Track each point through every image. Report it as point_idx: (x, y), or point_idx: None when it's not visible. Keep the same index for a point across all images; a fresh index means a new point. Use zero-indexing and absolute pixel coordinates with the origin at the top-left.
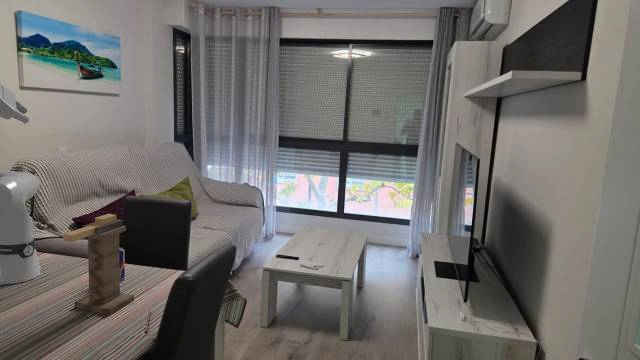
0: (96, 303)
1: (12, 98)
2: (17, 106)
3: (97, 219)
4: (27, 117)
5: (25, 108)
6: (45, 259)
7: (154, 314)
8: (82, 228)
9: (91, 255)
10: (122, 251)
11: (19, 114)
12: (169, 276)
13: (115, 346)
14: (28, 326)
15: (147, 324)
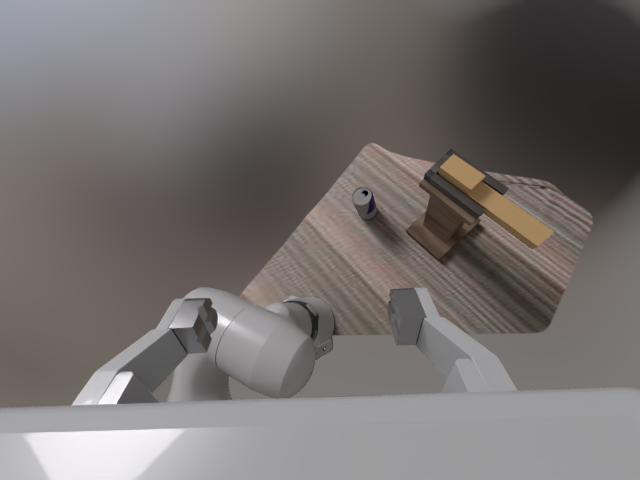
0: (455, 235)
1: (215, 453)
2: (160, 365)
3: (475, 186)
4: (399, 296)
5: (186, 309)
6: (264, 290)
7: (495, 176)
8: (499, 215)
9: (461, 220)
10: (368, 189)
11: (483, 353)
12: (382, 153)
13: (571, 221)
14: (475, 310)
15: (522, 185)
